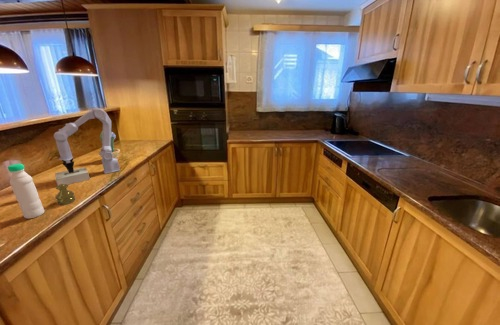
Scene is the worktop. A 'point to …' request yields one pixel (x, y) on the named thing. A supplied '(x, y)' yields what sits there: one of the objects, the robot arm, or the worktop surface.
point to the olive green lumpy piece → (64, 195)
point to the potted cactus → (114, 151)
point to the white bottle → (25, 192)
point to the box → (72, 176)
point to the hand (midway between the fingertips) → (71, 170)
